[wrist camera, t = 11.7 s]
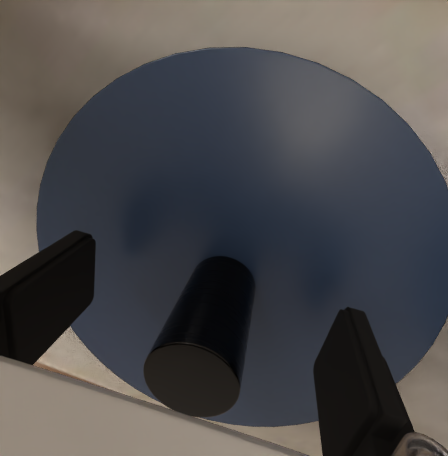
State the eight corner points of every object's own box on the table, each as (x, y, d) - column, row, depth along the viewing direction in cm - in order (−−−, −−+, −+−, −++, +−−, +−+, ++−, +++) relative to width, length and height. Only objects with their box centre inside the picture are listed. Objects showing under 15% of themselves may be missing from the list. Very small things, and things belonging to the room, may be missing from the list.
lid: (56, 352, 18) (-43, 460, 13) (46, 5, 11) (-196, -96, 5) (346, 446, 17) (377, 615, 11) (554, 116, 10) (932, 133, 4)
